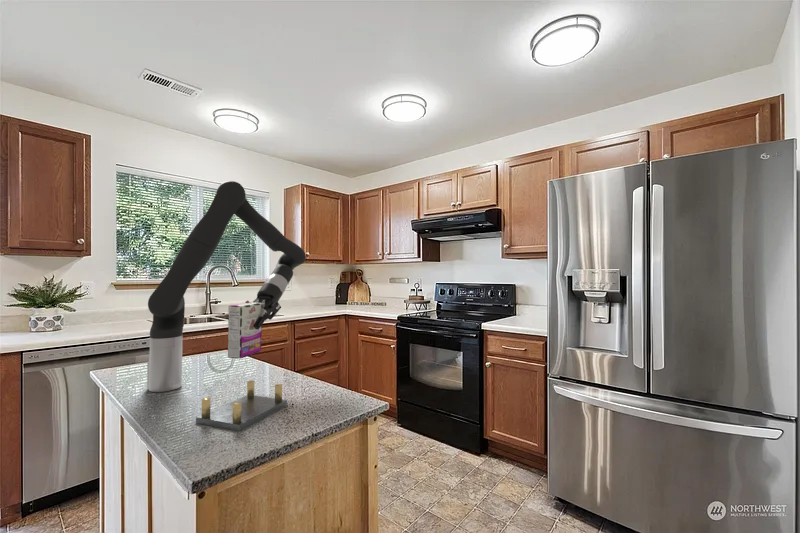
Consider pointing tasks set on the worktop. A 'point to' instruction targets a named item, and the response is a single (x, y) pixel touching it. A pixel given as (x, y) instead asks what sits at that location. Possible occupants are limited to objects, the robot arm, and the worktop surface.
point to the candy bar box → (243, 330)
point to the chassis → (241, 410)
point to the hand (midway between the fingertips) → (248, 327)
